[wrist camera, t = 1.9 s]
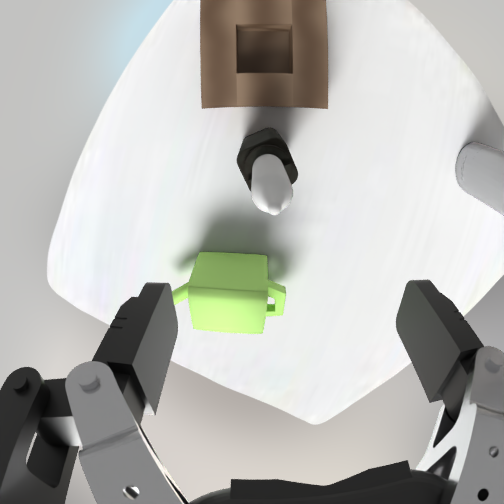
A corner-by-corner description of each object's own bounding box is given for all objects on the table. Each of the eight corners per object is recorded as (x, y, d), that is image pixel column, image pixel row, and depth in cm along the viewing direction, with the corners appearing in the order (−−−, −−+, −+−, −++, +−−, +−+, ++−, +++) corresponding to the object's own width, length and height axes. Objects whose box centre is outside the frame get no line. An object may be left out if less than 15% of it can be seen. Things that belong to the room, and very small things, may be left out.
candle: (288, 158, 40) (329, 231, 18) (254, 172, 41) (253, 260, 19) (274, 125, 38) (299, 154, 16) (239, 139, 39) (216, 189, 17)
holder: (318, 9, 30) (325, -1, 25) (319, 108, 37) (327, 108, 32) (206, 9, 30) (200, -2, 26) (208, 108, 37) (201, 108, 33)
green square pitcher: (177, 297, 52) (164, 335, 44) (172, 249, 47) (154, 284, 39) (280, 304, 52) (282, 344, 44) (285, 255, 47) (290, 292, 39)
